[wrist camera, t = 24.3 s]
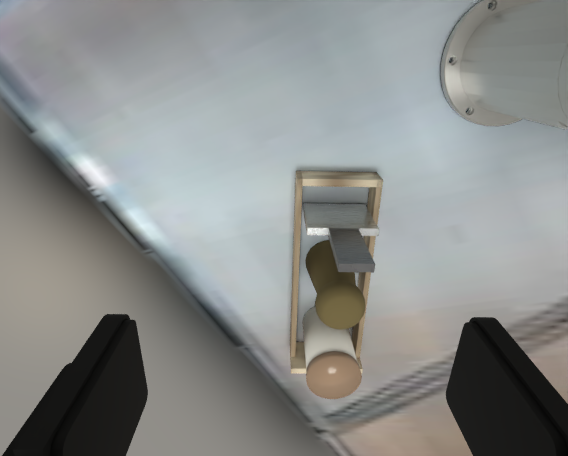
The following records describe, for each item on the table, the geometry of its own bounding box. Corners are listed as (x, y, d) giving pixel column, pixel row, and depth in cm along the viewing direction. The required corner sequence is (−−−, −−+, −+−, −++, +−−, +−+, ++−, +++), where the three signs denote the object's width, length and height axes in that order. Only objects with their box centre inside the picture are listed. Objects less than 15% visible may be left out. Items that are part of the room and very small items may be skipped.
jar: (348, 303, 50) (364, 357, 41) (344, 340, 53) (358, 399, 44) (302, 303, 50) (307, 357, 41) (300, 340, 53) (305, 398, 44)
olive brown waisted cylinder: (336, 231, 46) (353, 279, 36) (362, 266, 48) (383, 320, 38) (296, 256, 47) (300, 309, 37) (322, 289, 49) (333, 348, 39)
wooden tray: (376, 172, 43) (388, 185, 38) (354, 346, 53) (361, 373, 49) (295, 171, 43) (297, 184, 38) (289, 346, 53) (291, 373, 49)
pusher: (364, 204, 44) (400, 264, 31) (363, 210, 45) (398, 272, 32) (303, 203, 44) (313, 263, 31) (303, 209, 44) (313, 271, 31)
